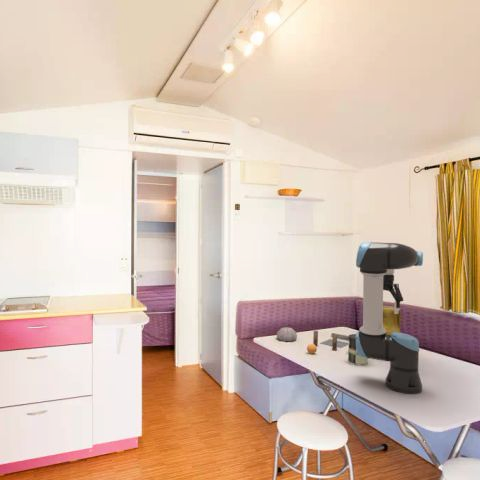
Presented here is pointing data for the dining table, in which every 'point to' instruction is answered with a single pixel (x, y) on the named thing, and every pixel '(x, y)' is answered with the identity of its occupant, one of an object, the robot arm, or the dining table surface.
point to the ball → (311, 348)
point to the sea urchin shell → (286, 334)
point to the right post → (334, 342)
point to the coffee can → (355, 353)
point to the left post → (315, 338)
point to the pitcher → (391, 320)
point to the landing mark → (339, 343)
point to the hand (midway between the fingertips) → (385, 311)
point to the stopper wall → (341, 336)
